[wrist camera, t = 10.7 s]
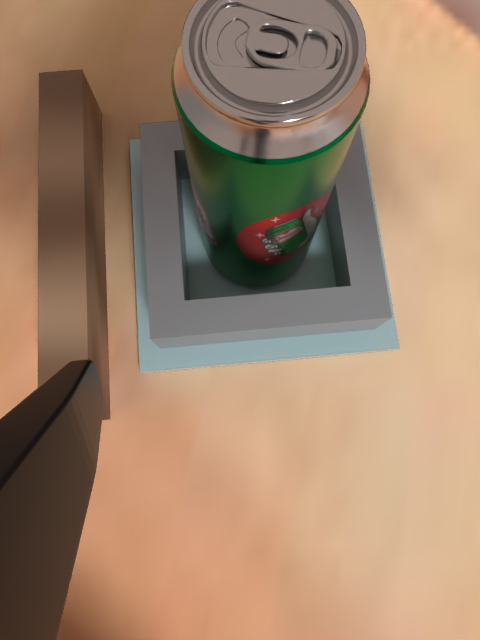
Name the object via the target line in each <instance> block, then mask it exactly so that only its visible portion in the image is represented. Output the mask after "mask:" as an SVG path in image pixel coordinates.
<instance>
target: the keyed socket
mask: <svg viewBox="0 0 480 640" xmlns="http://www.w3.org/2000/svg"><path fill="white" fill-rule="evenodd" d="M139 128H140V138H138V139H129V141H130V164H131V186H132V209H133V231H134V254H135V277H136V299H137V322H138V345H139V367H140V373H149V372H160V371H171V370H182V369H193V368H203V367H214V366H225V365H236V364H247V363H258V362H269V361H280V360H291V359H302V358H313V357H324V356H335V355H346V354H357V353H367V352H378V351H389V350H397V349H400V348H399V342H398V336H397V330H396V325H395V319H394V313H393V307H392V301H391V295H390V289H389V283H388V277H387V271H386V265H385V260H384V254H383V248H382V242H381V236H380V230H379V224H378V218H377V212H376V206H375V200H374V194H373V189H372V183H371V177H370V171H369V165H368V159H367V153H366V147H365V141H364V135H363V129H362V124H361V120H360V122H359V124H358V127H357V129H356V132H355V134H354V137H353V139H352V142H351V145H350V147H349V150H348V152H347V155H346V157H345V160H344V162H343V165H342V167H341V170H340V172H339V175H338V177H337V180H336V182H335V185H334V187H333V190H332V192H331V195H330V197H329V200H328V202H327V205H326V207H325V210H324V212H323V215H322V217H321V220H320V222H319V225H318V227H317V230H316V233H315V235H314V238H313V240H312V243H311V245H310V248H309V250H308V253H307V255H306V257H305V259H304V261H303V263H302V264H301V266H300V267H299V268H298V269H297V270H296V271H295V272H294V273H293V274H292V275H291V276H289V277H288V278H287V279H285V280H283V281H281V282H279V283H276V284H273V285H269V286H264V287H251V286H245V285H241V284H237V283H235V282H233V281H231V280H229V279H227V278H226V277H224V276H223V275H222V274H221V273H220V272H218V271H217V270H216V268H215V267H214V266H213V265H212V263H211V262H210V260H209V258H208V256H207V253H206V251H205V247H204V242H203V237H202V233H201V228H200V223H199V218H198V213H197V208H196V203H195V198H194V193H193V189H192V184H191V179H190V174H189V169H188V164H187V159H186V154H185V149H184V144H183V140H182V135H181V130H180V125H179V121H168V122H156V123H143V124H139Z"/></svg>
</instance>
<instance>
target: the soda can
mask: <svg viewBox="0 0 480 640" xmlns="http://www.w3.org/2000/svg"><path fill="white" fill-rule="evenodd" d="M369 89H370V73H369V65H368V61H367V58H366V38H365V31H364V28H363V25H362V21H361V19H360V17H359V15H358V13H357V11H356V9H355V8H354V6H353V5H352V4H351V2H350V1H349V0H197V1H196V2H195V3H194V5H193V7H192V8H191V10H190V12H189V14H188V16H187V18H186V21H185V24H184V27H183V32H182V38H181V43H180V44H179V47H178V49H177V52H176V55H175V57H174V61H173V67H172V90H173V95H174V100H175V105H176V110H177V115H178V120H179V125H180V130H181V135H182V140H183V144H184V149H185V154H186V159H187V164H188V169H189V174H190V179H191V184H192V189H193V193H194V198H195V203H196V208H197V213H198V218H199V223H200V228H201V233H202V237H203V242H204V247H205V251H206V253H207V256H208V258H209V260H210V262H211V263H212V265H213V266H214V267H215V268H216V270H217V271H218V272H220V273H221V274H222V275H223V276H224V277H226V278H227V279H229V280H231V281H233V282H235V283H237V284H241V285H245V286H251V287H264V286H269V285H273V284H276V283H279V282H281V281H283V280H285V279H287V278H288V277H289V276H291V275H292V274H293V273H294V272H295V271H296V270H297V269H298V268H299V267H300V266H301V264H302V263H303V261H304V259H305V257H306V255H307V253H308V250H309V248H310V245H311V243H312V240H313V238H314V235H315V233H316V230H317V227H318V225H319V222H320V220H321V217H322V215H323V212H324V210H325V207H326V205H327V202H328V200H329V197H330V195H331V192H332V190H333V187H334V185H335V182H336V180H337V177H338V175H339V172H340V170H341V167H342V165H343V162H344V160H345V157H346V155H347V152H348V150H349V147H350V145H351V142H352V139H353V137H354V134H355V132H356V129H357V127H358V124H359V122H360V119H361V117H362V114H363V112H364V109H365V107H366V103H367V99H368V96H369Z"/></svg>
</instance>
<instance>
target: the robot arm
mask: <svg viewBox="0 0 480 640" xmlns="http://www.w3.org/2000/svg"><path fill="white" fill-rule="evenodd" d="M103 406H104V394H103V389H102V386H101V383H100V379H99V376H98V373H97V369H96V366H95V364H94V362H93V361H92V360H90V359H87V360H75V361H71V362H69V363H68V364H66V365H65V366H64V367H63V368H62V369H60V370H59V371H58V372H57V373H55V374H54V375H53V376H52V377H51V378H49V379H48V380H47V381H46V382H45V383H43V384H42V385H41V386H40V387H39V388H37V389H36V390H35V391H34V392H33V393H31V394H30V395H29V396H28V397H26V398H25V399H24V400H23V401H22V402H20V403H19V404H18V405H17V406H16V407H14V408H13V409H12V410H11V411H10V412H8V413H7V414H6V415H5V416H4V417H2V418H1V419H0V640H56V639H57V635H58V630H59V626H60V622H61V618H62V614H63V609H64V605H65V601H66V597H67V593H68V588H69V584H70V580H71V576H72V572H73V567H74V563H75V559H76V555H77V550H78V546H79V542H80V538H81V534H82V529H83V525H84V521H85V517H86V513H87V508H88V504H89V500H90V496H91V491H92V487H93V483H94V478H95V473H96V467H97V460H98V451H99V442H100V433H101V424H102V415H103Z"/></svg>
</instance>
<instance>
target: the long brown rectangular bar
mask: <svg viewBox="0 0 480 640" xmlns="http://www.w3.org/2000/svg"><path fill="white" fill-rule="evenodd" d="M87 359H90V360H92V361H93V362H94V364H95V366H96V369H97V373H98V376H99V379H100V383H101V386H102V389H103V394H104V406H103V415H102V420H108V419H110V395H109V361H108V327H107V293H106V259H105V226H104V192H103V158H102V124H101V111H100V108H99V106H98V104H97V102H96V100H95V97H94V95H93V93H92V91H91V88H90V86H89V84H88V82H87V79H86V77H85V75H84V73H83V70H71V71H58V72H45V73H39V210H38V388H39V387H40V386H41V385H42V384H43V383H45V382H46V381H47V380H48V379H49V378H51V377H52V376H53V375H54V374H55V373H57V372H58V371H59V370H60V369H62V368H63V367H64V366H65V365H66V364H68V363H69V362H71V361H75V360H87Z"/></svg>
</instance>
